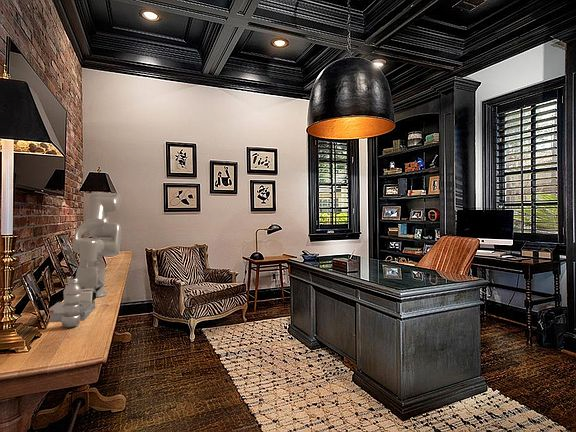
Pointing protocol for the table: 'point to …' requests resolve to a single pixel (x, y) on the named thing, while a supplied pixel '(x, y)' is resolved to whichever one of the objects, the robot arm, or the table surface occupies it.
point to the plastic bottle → (71, 303)
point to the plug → (86, 295)
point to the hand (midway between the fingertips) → (86, 299)
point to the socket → (58, 310)
